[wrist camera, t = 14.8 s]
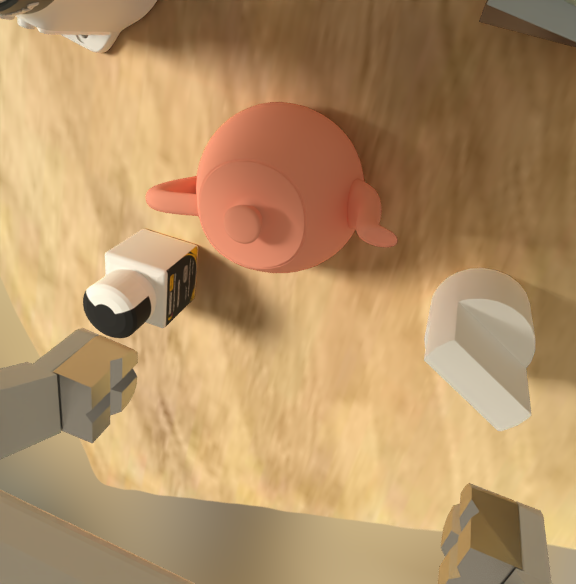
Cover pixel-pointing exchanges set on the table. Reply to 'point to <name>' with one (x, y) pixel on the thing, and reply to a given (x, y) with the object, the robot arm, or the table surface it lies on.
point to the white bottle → (142, 284)
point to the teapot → (278, 190)
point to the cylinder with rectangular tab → (483, 342)
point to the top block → (542, 14)
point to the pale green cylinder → (571, 2)
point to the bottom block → (519, 25)
